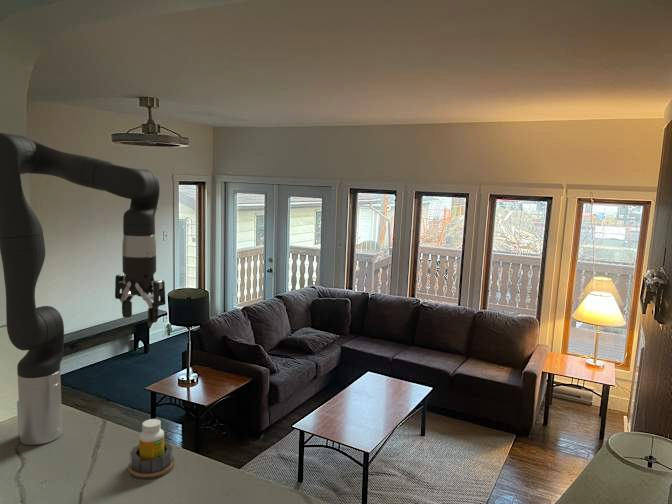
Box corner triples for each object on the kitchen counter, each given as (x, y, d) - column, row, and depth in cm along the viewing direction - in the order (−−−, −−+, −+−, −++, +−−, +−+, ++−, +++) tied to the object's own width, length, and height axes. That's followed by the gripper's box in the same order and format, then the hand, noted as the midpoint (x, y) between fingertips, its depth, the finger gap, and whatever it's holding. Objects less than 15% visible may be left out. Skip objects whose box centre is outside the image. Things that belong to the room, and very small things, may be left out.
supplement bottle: (156, 470, 114) (156, 429, 113) (134, 467, 115) (134, 426, 114) (168, 457, 119) (168, 418, 118) (147, 454, 120) (147, 416, 119)
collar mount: (118, 471, 115) (118, 454, 114) (152, 451, 124) (152, 436, 123) (150, 484, 110) (150, 467, 110) (183, 462, 119) (183, 446, 119)
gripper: (105, 252, 120) (106, 318, 122) (149, 258, 114) (149, 328, 116) (130, 249, 127) (131, 312, 129) (173, 254, 121) (173, 321, 123)
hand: (139, 319), depth 123 cm, fingers open, 8 cm apart
